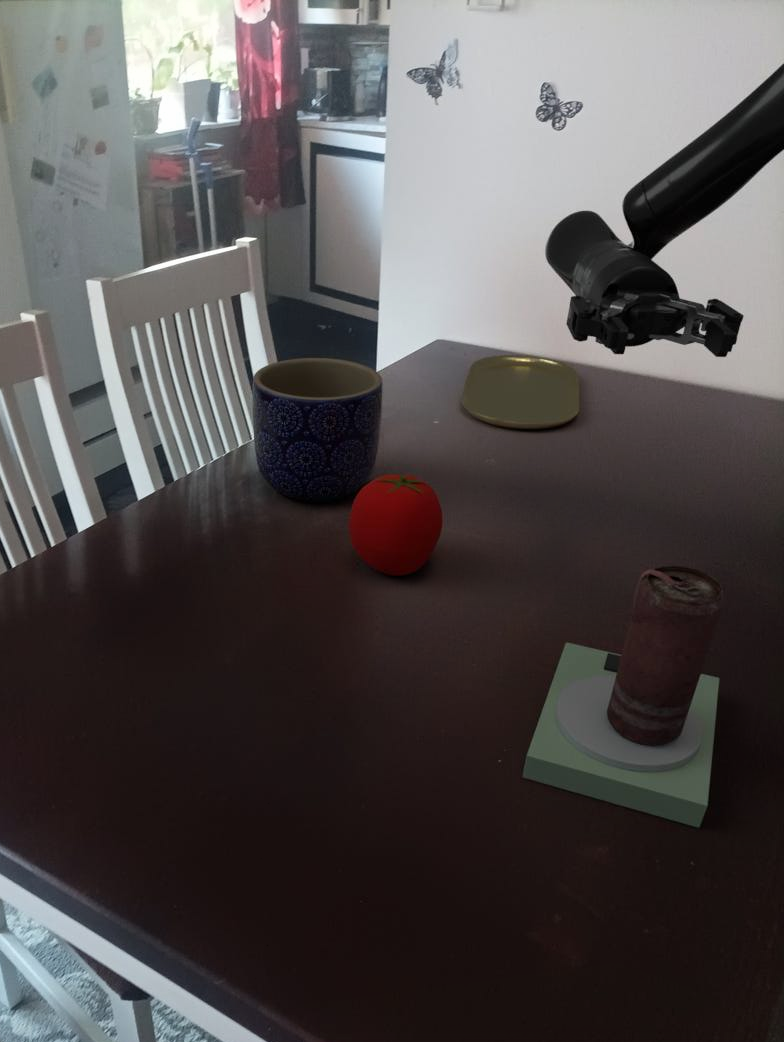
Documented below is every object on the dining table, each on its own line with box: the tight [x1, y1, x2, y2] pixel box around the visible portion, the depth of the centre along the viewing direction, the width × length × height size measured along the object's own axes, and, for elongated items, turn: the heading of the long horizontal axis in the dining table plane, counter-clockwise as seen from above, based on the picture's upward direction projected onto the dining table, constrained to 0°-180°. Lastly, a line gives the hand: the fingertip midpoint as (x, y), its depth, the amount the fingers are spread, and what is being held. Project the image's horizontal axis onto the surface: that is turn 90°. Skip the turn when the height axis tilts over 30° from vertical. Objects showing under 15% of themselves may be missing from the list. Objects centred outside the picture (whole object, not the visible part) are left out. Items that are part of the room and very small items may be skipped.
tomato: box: [348, 473, 443, 577], centre depth 101 cm, size 10×11×11 cm
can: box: [607, 565, 725, 746], centre depth 72 cm, size 6×6×14 cm
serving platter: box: [460, 354, 580, 431], centre depth 152 cm, size 19×35×2 cm, turn 166°
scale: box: [522, 641, 720, 829], centre depth 79 cm, size 18×14×3 cm
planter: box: [252, 357, 383, 503], centre depth 118 cm, size 17×16×15 cm
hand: (674, 344), depth 75 cm, fingers open, 8 cm apart
